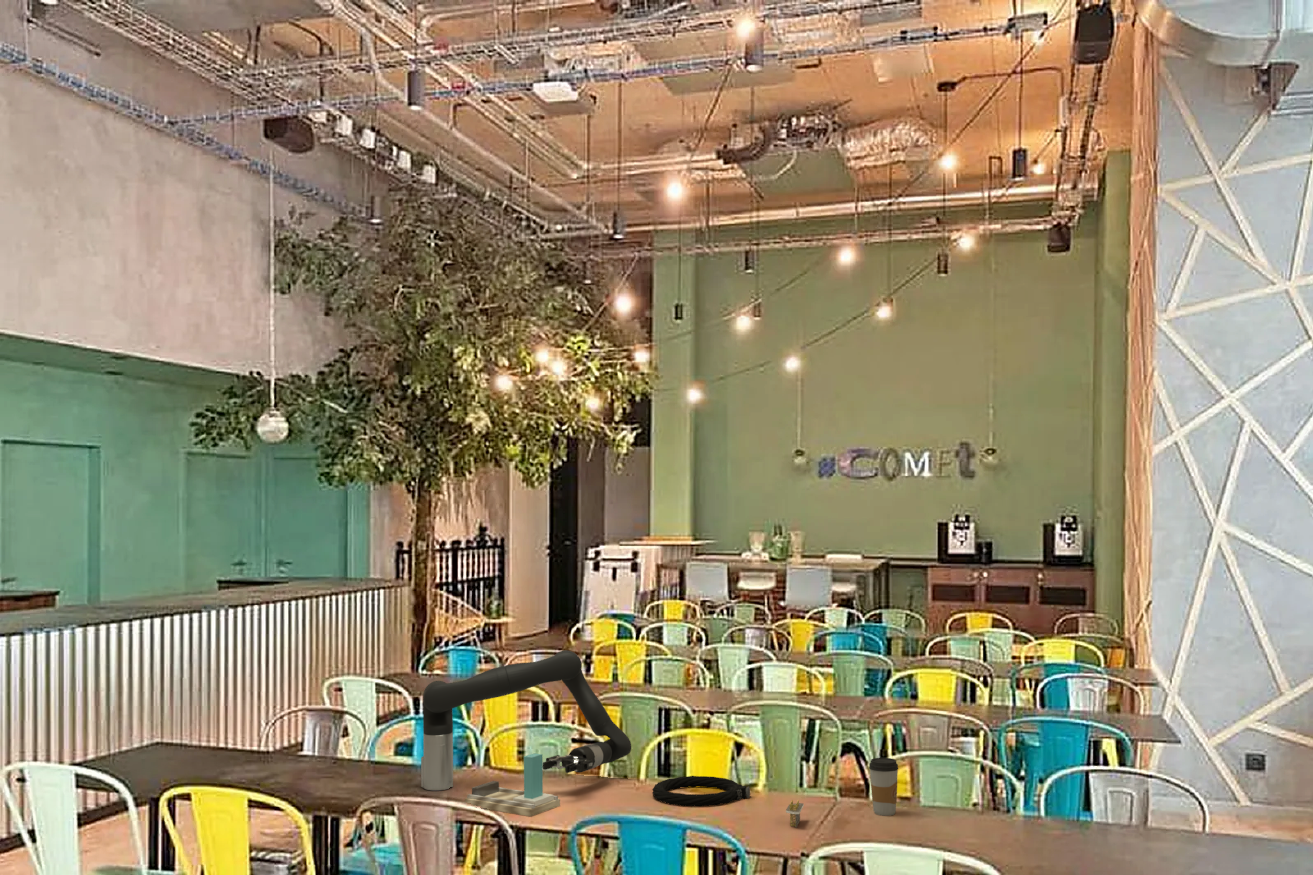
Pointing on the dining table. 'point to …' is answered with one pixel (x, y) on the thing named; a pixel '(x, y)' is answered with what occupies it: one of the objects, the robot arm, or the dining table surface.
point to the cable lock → (719, 798)
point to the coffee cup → (884, 785)
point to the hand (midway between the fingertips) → (554, 767)
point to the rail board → (506, 800)
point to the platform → (794, 812)
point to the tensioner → (533, 782)
